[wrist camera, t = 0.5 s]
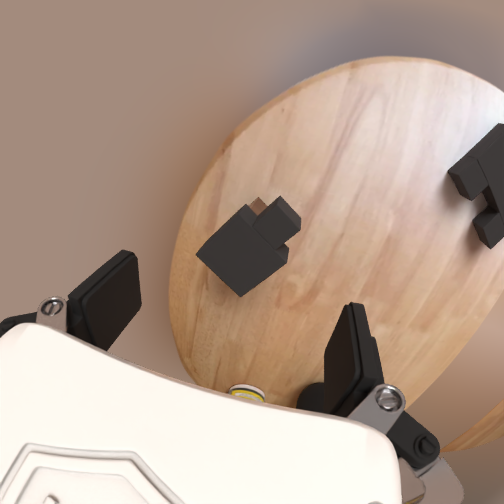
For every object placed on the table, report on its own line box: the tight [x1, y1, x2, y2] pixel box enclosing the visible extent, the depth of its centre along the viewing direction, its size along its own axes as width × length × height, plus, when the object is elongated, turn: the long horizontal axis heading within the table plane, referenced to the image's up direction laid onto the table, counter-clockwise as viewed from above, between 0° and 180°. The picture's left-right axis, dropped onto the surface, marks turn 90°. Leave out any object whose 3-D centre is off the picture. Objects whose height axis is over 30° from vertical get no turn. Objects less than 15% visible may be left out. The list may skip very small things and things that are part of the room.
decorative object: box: [296, 383, 324, 413], centre depth 31 cm, size 7×7×15 cm
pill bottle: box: [228, 384, 265, 403], centre depth 36 cm, size 6×6×11 cm
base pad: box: [448, 123, 504, 249], centre depth 19 cm, size 10×10×2 cm
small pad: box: [196, 196, 301, 297], centre depth 21 cm, size 7×5×2 cm
